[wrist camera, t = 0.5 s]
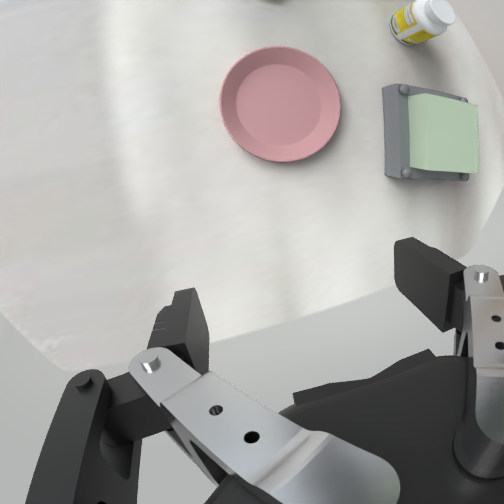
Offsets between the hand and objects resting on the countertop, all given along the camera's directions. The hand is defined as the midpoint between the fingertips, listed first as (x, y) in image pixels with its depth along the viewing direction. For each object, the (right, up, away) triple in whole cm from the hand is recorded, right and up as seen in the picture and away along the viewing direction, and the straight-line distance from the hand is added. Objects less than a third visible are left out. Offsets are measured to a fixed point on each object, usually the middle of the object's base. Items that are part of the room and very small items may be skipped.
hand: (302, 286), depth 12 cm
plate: (+1, +19, +23) cm, 30 cm away
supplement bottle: (+20, +33, +20) cm, 43 cm away
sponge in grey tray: (+21, +18, +25) cm, 38 cm away
